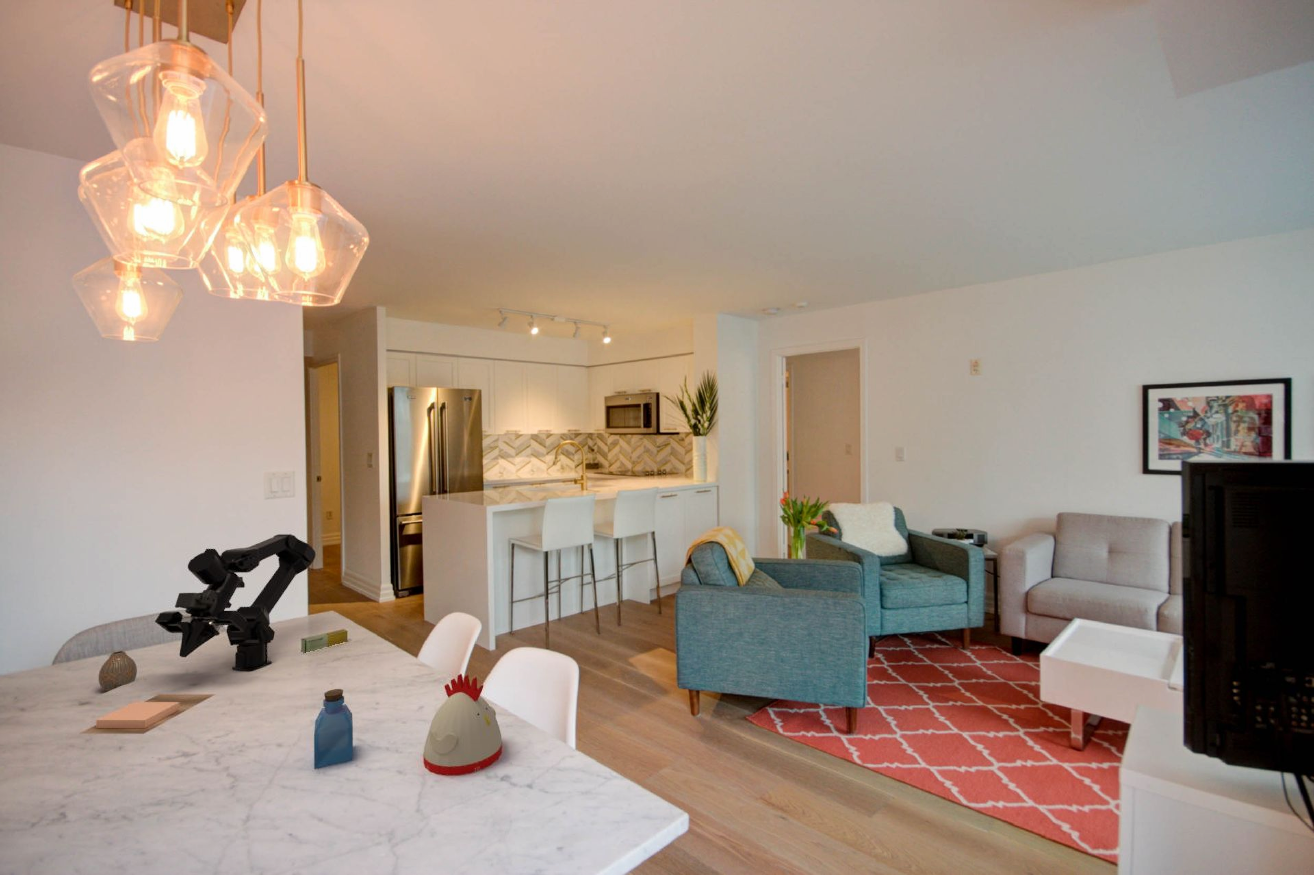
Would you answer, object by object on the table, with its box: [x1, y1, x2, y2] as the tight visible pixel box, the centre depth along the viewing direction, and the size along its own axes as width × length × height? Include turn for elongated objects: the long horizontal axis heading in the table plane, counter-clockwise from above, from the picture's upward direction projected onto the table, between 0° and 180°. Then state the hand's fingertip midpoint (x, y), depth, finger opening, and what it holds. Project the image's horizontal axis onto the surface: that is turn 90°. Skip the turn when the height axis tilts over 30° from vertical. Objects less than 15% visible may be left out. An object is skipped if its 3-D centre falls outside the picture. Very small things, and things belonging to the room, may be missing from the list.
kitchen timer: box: [422, 673, 503, 777], centre depth 114 cm, size 14×14×15 cm
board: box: [80, 693, 216, 735], centre depth 130 cm, size 19×13×2 cm
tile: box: [95, 701, 179, 728], centre depth 126 cm, size 2×10×8 cm
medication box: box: [300, 628, 349, 654], centre depth 175 cm, size 12×3×4 cm, turn 142°
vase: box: [98, 650, 138, 693], centre depth 146 cm, size 7×7×9 cm
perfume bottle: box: [313, 688, 354, 770], centre depth 113 cm, size 6×6×12 cm
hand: (182, 656), depth 138 cm, fingers closed
